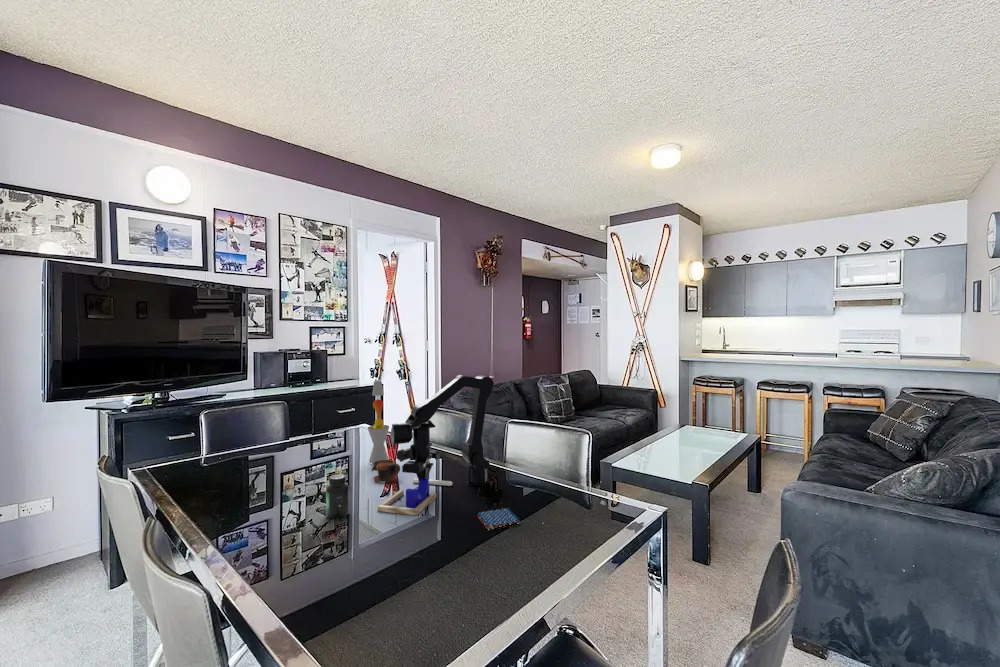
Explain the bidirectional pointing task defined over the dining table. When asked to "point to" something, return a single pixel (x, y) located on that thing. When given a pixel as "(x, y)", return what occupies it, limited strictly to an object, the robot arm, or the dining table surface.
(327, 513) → the supplement bottle
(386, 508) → the frame
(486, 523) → the woven mat
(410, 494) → the cable clip
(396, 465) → the pottery mug
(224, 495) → the dining table surface
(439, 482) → the white peg
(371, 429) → the lava lamp
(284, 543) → the dining table surface
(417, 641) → the dining table surface
